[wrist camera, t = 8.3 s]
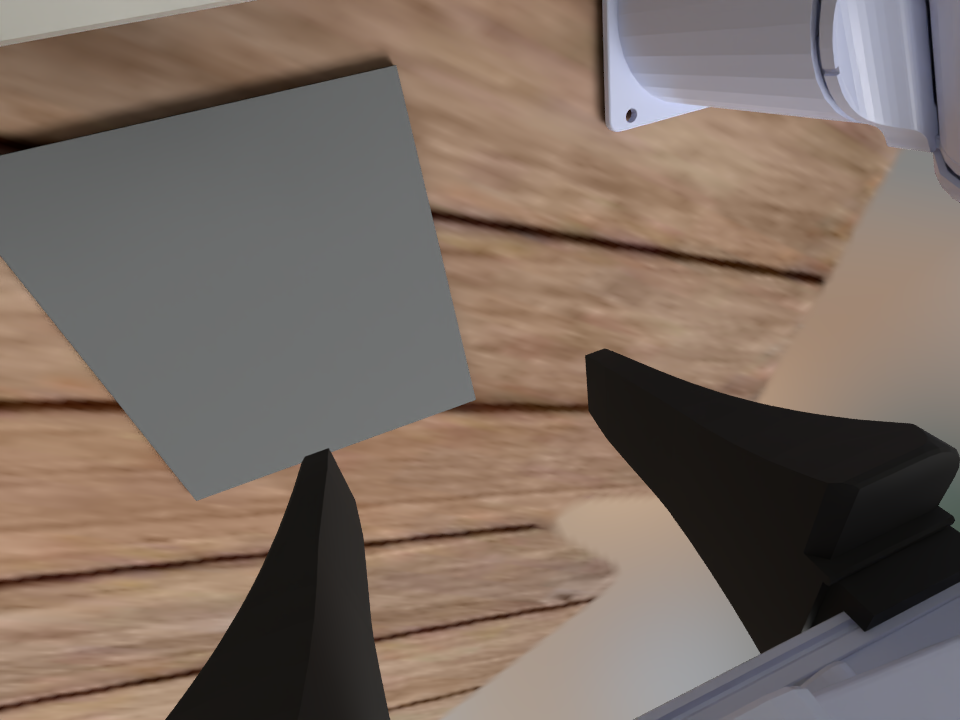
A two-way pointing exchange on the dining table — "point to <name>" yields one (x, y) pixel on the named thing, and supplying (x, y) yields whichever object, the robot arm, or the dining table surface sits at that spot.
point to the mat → (246, 274)
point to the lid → (85, 15)
